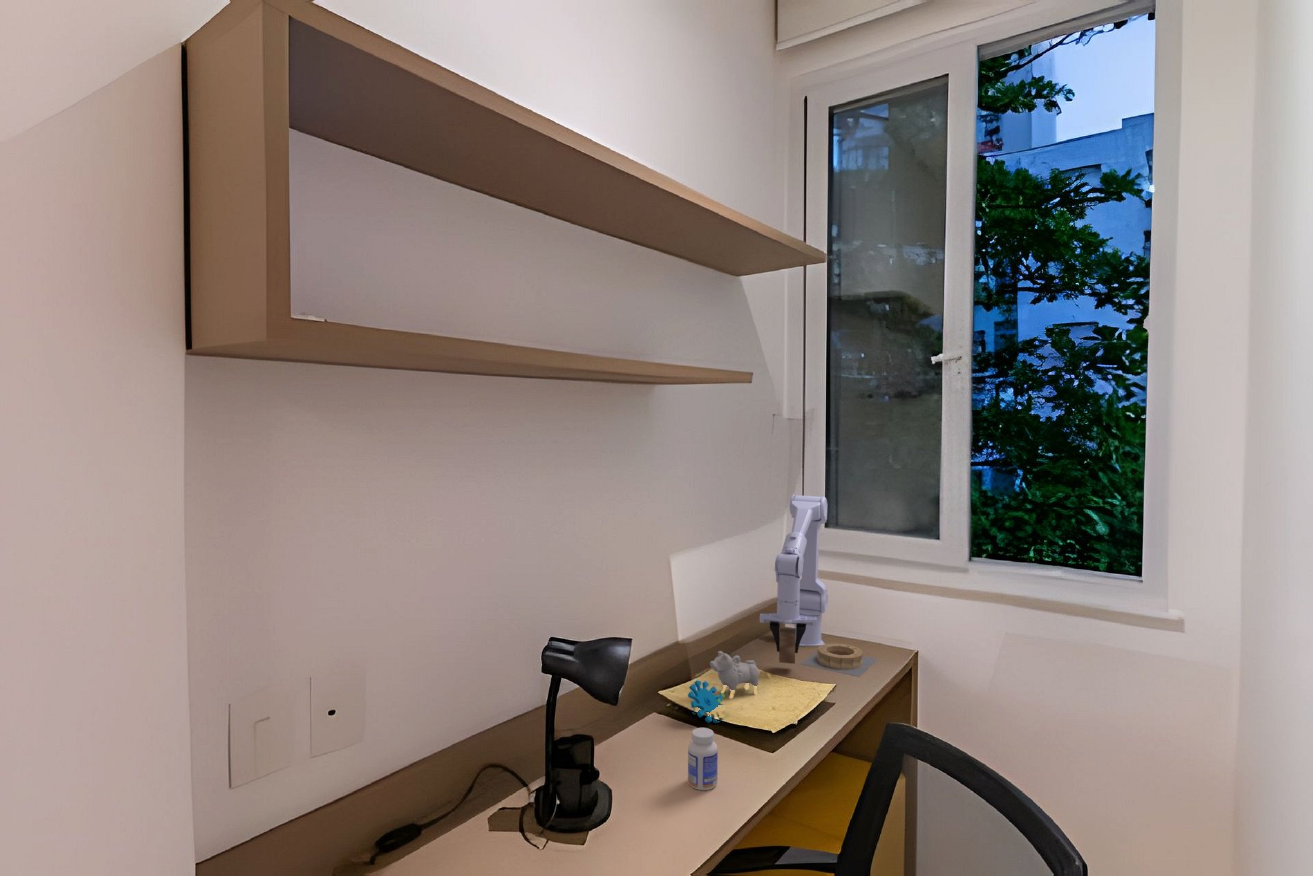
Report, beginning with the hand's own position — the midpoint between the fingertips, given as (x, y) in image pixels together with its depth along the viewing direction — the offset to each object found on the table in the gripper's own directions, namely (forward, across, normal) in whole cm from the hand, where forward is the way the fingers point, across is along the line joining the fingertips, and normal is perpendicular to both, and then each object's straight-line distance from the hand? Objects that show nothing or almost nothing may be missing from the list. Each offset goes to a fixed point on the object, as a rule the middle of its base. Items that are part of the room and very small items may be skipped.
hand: (787, 651), depth 191 cm
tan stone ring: (+5, +14, +10) cm, 18 cm away
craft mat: (+6, +14, +10) cm, 18 cm away
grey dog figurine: (+6, -12, -18) cm, 22 cm away
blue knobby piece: (+6, -16, -32) cm, 37 cm away
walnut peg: (+2, 0, 0) cm, 2 cm away
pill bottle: (+6, -14, -61) cm, 62 cm away
